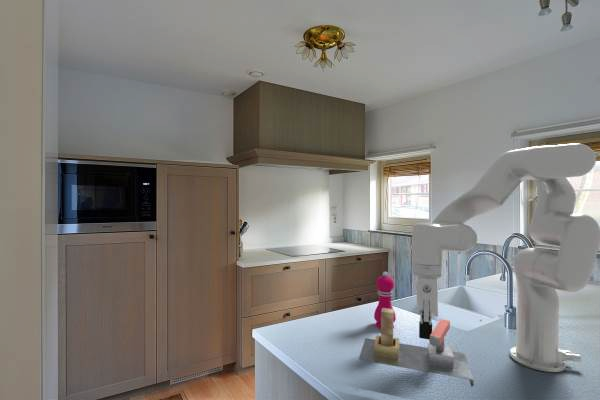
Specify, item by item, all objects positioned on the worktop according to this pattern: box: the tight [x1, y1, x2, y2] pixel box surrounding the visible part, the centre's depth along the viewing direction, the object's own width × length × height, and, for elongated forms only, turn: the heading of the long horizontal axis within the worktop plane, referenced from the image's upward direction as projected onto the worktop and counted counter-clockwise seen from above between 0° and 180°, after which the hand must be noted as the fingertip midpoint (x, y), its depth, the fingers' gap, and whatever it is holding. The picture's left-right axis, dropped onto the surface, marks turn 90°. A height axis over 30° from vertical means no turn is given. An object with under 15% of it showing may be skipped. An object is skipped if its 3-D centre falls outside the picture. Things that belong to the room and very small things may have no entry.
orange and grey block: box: [428, 318, 451, 352], centre depth 86 cm, size 15×3×6 cm, turn 145°
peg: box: [380, 308, 395, 346], centre depth 91 cm, size 3×3×12 cm
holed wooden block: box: [374, 334, 400, 360], centre depth 91 cm, size 7×7×3 cm
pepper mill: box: [373, 271, 397, 330], centre depth 110 cm, size 7×7×20 cm
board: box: [358, 337, 475, 385], centre depth 89 cm, size 28×14×4 cm, turn 71°
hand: (425, 337), depth 85 cm, fingers closed
